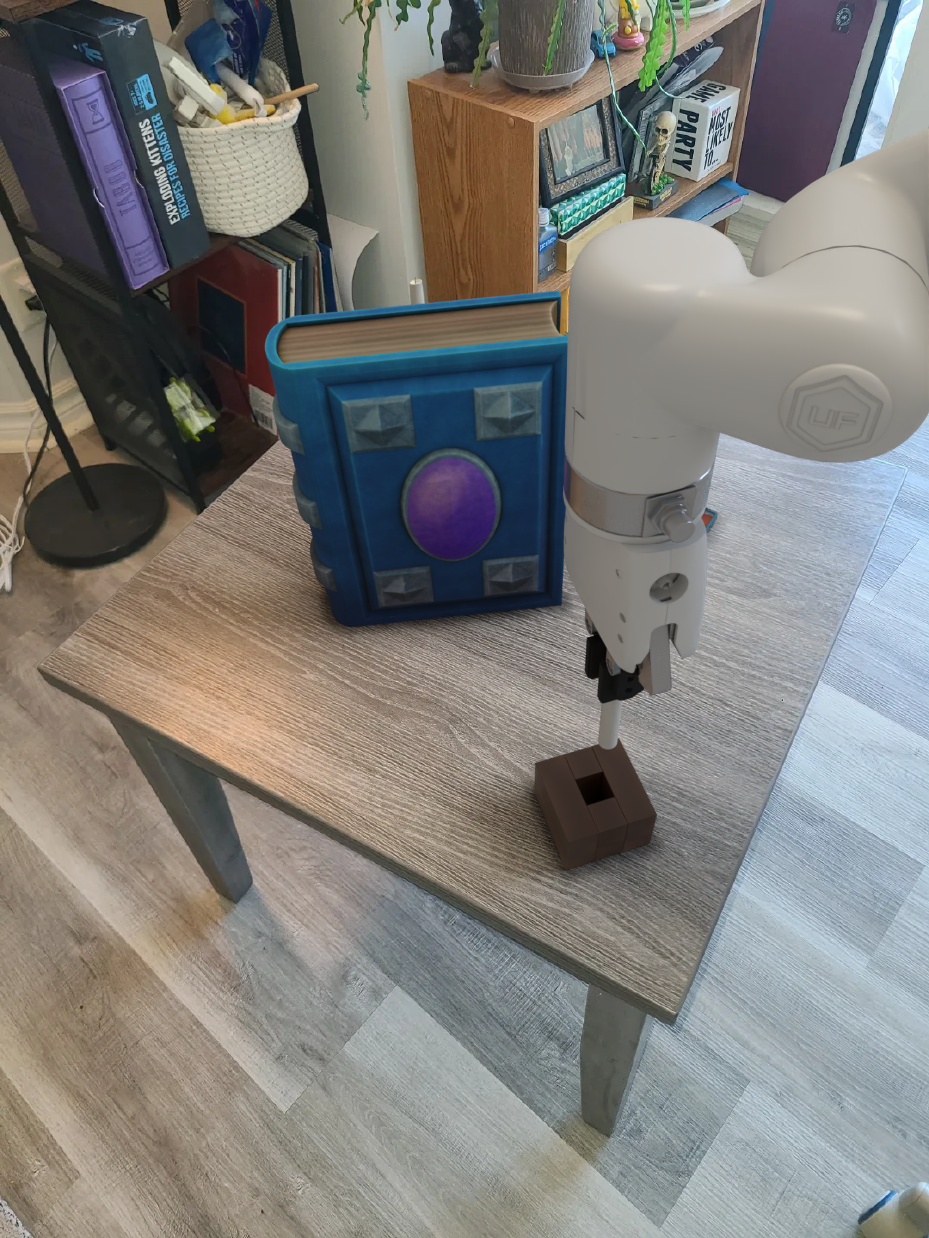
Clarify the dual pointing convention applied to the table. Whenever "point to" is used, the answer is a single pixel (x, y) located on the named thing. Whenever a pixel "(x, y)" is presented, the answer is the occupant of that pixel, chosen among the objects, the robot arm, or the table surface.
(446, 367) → the book
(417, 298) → the candle
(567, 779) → the pen stand
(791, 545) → the table surface
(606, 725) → the stylus
